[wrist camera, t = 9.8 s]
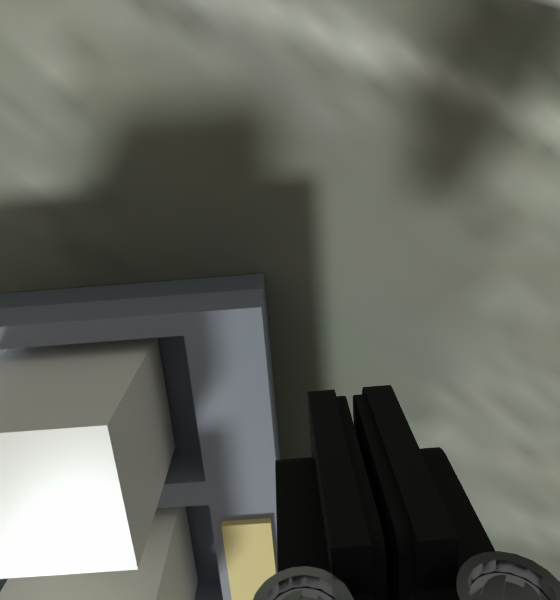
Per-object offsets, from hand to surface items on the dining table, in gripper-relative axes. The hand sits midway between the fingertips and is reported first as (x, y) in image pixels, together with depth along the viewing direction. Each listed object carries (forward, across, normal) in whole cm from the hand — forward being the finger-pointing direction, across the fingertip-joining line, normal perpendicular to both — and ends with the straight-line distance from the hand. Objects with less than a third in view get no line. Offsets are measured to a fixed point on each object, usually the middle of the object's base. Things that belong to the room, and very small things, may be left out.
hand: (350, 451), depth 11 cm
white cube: (+4, +7, +1) cm, 8 cm away
